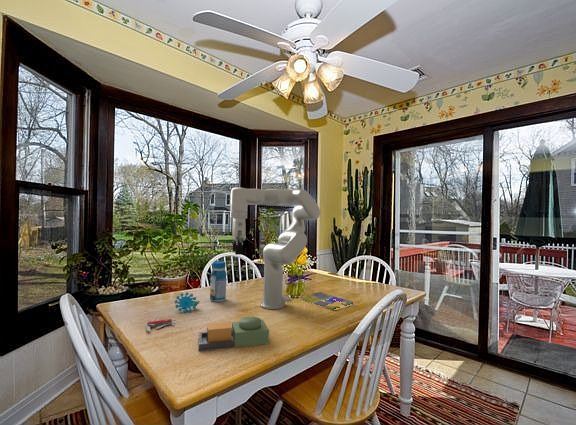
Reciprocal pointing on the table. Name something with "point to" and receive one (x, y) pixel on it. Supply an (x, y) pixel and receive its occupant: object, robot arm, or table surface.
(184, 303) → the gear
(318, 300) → the dish towel
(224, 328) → the light orange rectangular block
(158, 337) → the table surface
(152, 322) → the swiss army knife
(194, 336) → the table surface
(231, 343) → the dark gray rectangular tray
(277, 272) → the robot arm
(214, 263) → the beverage bottle
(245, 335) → the green domed block
